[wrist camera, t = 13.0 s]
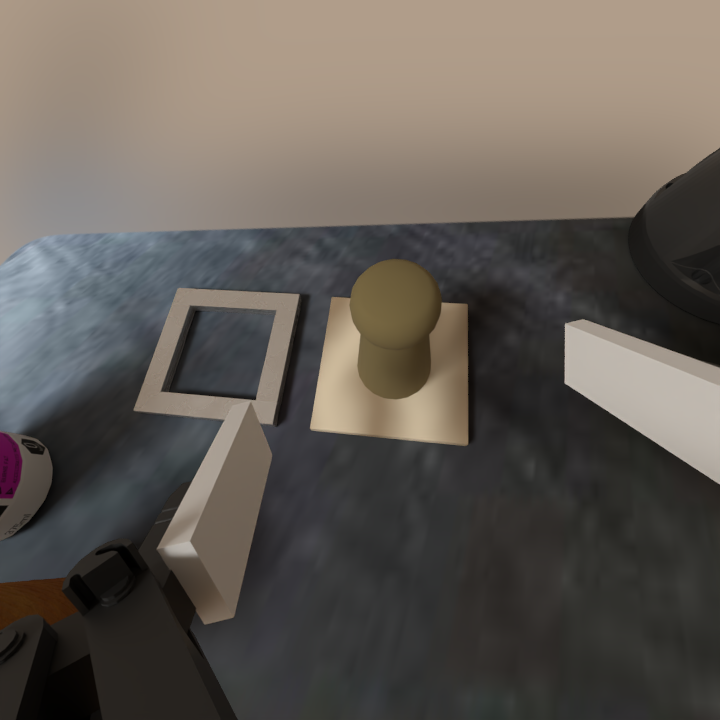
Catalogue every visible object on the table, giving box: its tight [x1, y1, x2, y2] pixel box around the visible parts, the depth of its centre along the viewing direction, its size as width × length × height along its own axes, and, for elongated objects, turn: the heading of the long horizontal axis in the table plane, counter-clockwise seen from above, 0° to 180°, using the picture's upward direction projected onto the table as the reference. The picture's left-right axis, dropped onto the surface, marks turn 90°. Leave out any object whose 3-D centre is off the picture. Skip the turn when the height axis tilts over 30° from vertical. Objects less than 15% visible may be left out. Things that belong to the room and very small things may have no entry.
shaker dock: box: [133, 288, 302, 427], centre depth 30 cm, size 12×12×1 cm
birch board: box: [310, 297, 468, 446], centre depth 28 cm, size 12×12×1 cm
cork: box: [349, 259, 442, 400], centre depth 23 cm, size 6×6×11 cm
